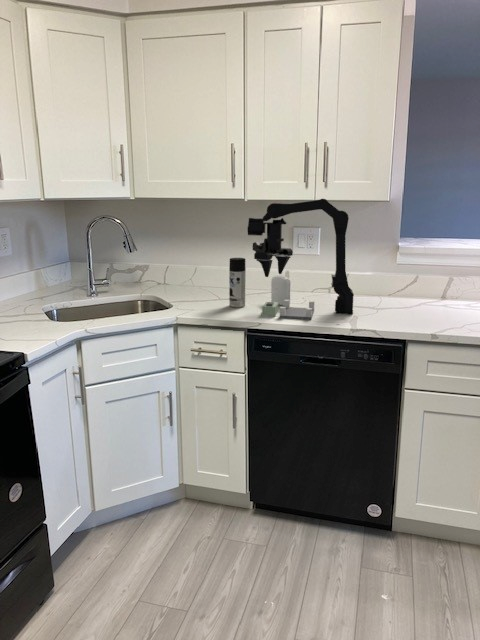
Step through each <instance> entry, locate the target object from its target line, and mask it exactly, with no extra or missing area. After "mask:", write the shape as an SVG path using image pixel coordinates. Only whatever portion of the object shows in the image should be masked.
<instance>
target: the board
mask: <svg viewBox="0 0 480 640" xmlns="http://www.w3.org/2000/svg"><path fill="white" fill-rule="evenodd" d="M261 307H262V309H261V316H262V317H273V318H274V317H276V316H277V314H278V313H279V304H278V302H271V301H265V302H264V304H263V305H262V306H261Z"/></svg>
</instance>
